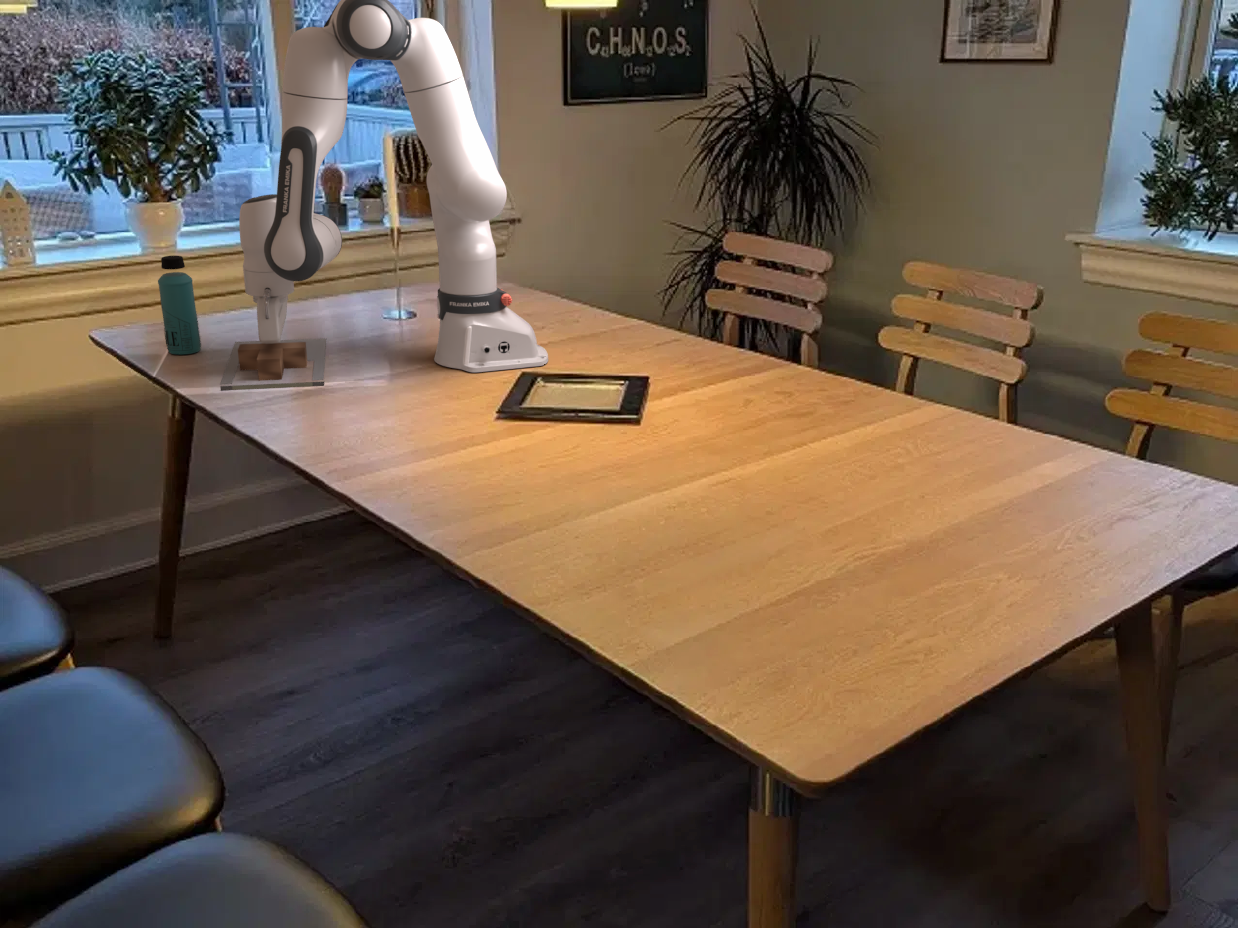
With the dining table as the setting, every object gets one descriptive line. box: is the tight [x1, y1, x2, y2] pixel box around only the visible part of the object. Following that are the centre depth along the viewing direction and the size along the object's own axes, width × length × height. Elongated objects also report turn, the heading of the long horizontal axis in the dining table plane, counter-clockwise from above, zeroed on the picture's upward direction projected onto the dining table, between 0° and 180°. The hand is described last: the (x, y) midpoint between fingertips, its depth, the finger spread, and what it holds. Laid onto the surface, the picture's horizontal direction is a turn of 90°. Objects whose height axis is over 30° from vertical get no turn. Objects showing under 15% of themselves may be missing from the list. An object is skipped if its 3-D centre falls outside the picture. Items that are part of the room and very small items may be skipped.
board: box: [219, 338, 327, 392], centre depth 215 cm, size 18×29×1 cm, turn 13°
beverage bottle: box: [157, 255, 202, 355], centre depth 215 cm, size 6×7×20 cm
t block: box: [238, 342, 308, 382], centre depth 207 cm, size 12×11×4 cm
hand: (275, 354), depth 214 cm, fingers closed
